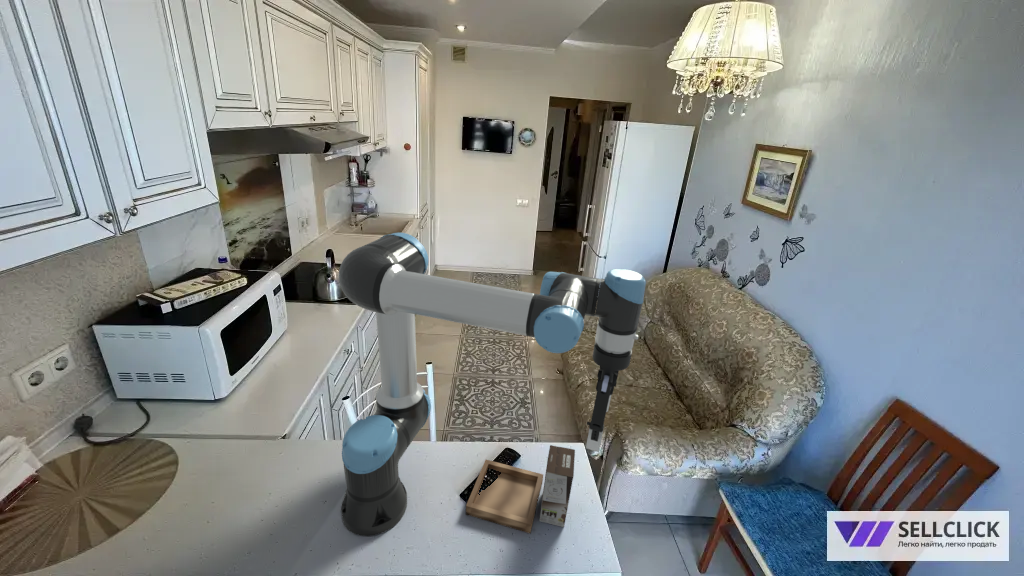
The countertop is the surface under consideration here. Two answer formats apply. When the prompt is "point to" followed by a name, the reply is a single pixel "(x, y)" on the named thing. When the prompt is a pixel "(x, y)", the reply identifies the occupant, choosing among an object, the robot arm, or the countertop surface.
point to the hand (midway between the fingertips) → (597, 428)
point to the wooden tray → (506, 497)
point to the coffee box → (557, 485)
